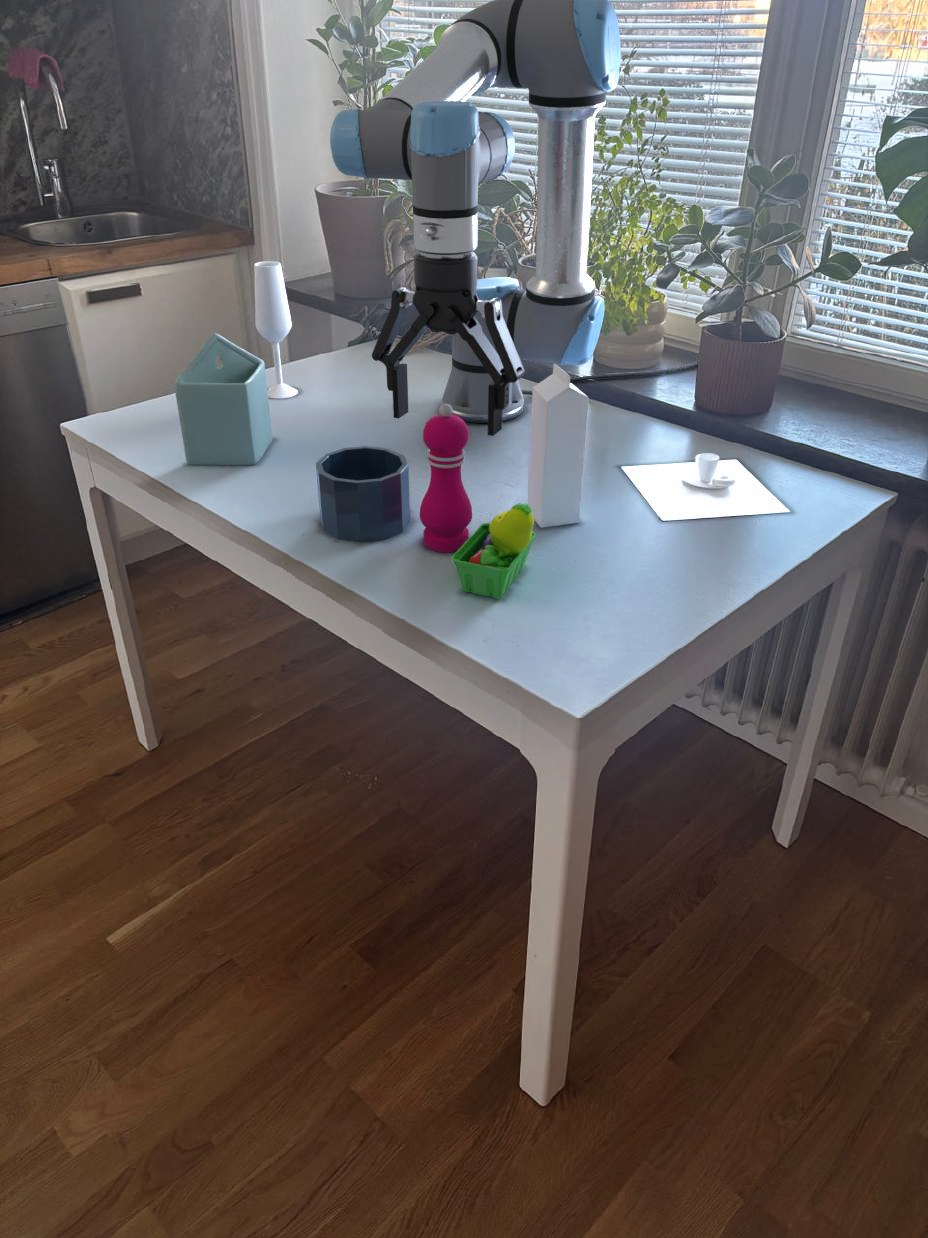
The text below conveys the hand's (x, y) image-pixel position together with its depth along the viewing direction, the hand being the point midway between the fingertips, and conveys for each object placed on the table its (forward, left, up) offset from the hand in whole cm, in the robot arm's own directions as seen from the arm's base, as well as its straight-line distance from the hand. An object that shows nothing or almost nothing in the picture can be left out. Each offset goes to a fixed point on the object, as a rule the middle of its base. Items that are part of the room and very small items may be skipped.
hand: (447, 423), depth 122 cm
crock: (+10, -9, -17) cm, 22 cm away
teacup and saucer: (-43, -8, -17) cm, 47 cm away
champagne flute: (+17, -68, -17) cm, 72 cm away
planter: (+26, -37, -17) cm, 48 cm away
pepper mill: (0, 0, -17) cm, 17 cm away
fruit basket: (-4, +12, -17) cm, 22 cm away
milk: (-17, -4, -17) cm, 24 cm away
